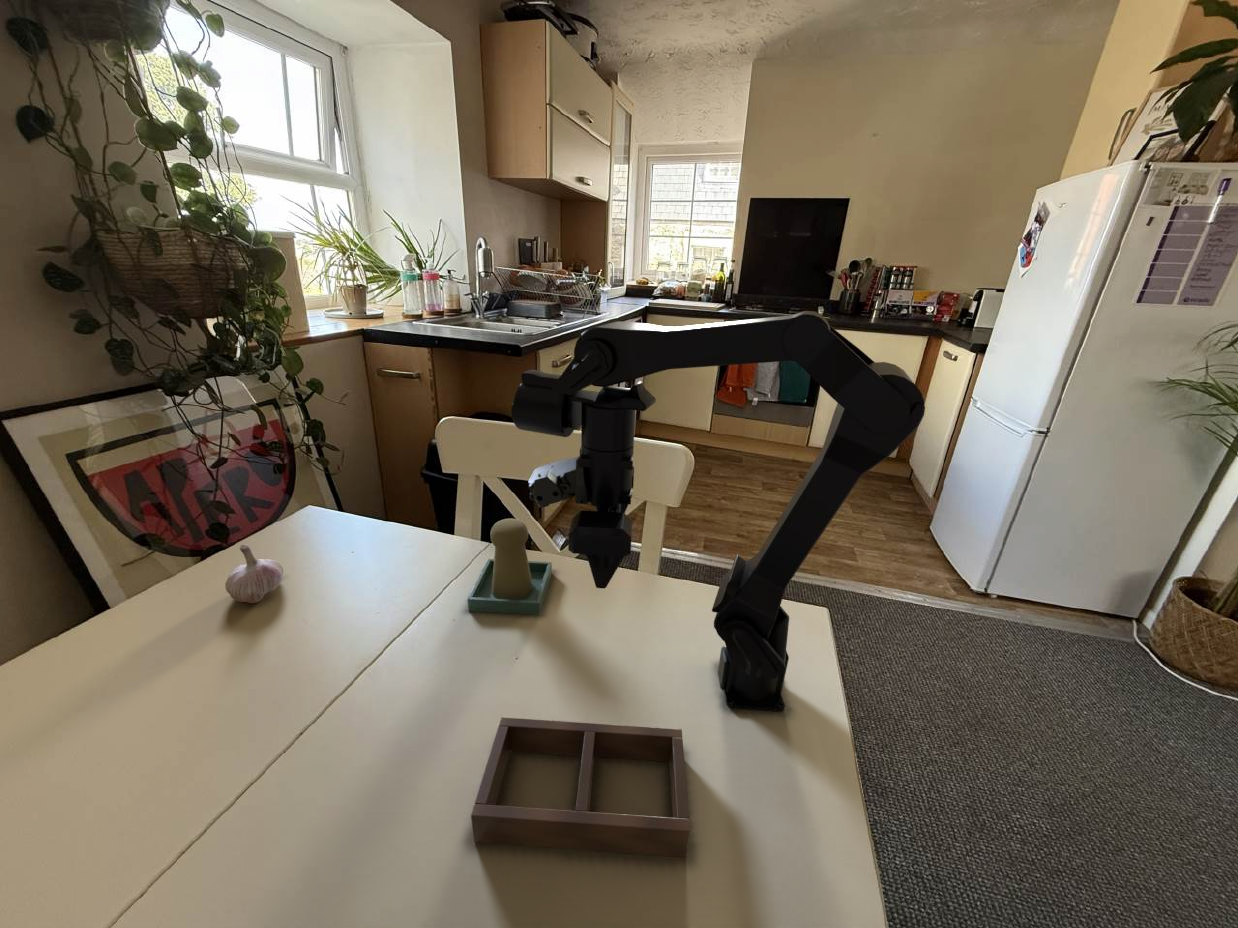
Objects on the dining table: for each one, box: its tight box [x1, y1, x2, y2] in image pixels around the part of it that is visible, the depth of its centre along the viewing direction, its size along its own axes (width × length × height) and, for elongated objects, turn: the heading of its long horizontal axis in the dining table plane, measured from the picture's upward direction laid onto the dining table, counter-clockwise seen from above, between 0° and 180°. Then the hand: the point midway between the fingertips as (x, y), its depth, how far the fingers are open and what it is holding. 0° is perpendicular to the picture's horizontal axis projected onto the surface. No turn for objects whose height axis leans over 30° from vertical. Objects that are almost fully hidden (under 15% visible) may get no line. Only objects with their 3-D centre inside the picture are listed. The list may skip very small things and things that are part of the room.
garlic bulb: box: [224, 543, 285, 604], centre depth 70 cm, size 8×7×8 cm
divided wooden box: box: [470, 716, 691, 858], centre depth 45 cm, size 18×10×4 cm, turn 87°
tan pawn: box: [490, 517, 533, 600], centre depth 71 cm, size 6×6×11 cm
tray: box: [467, 558, 553, 616], centre depth 73 cm, size 10×10×2 cm
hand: (603, 564), depth 60 cm, fingers open, 9 cm apart
